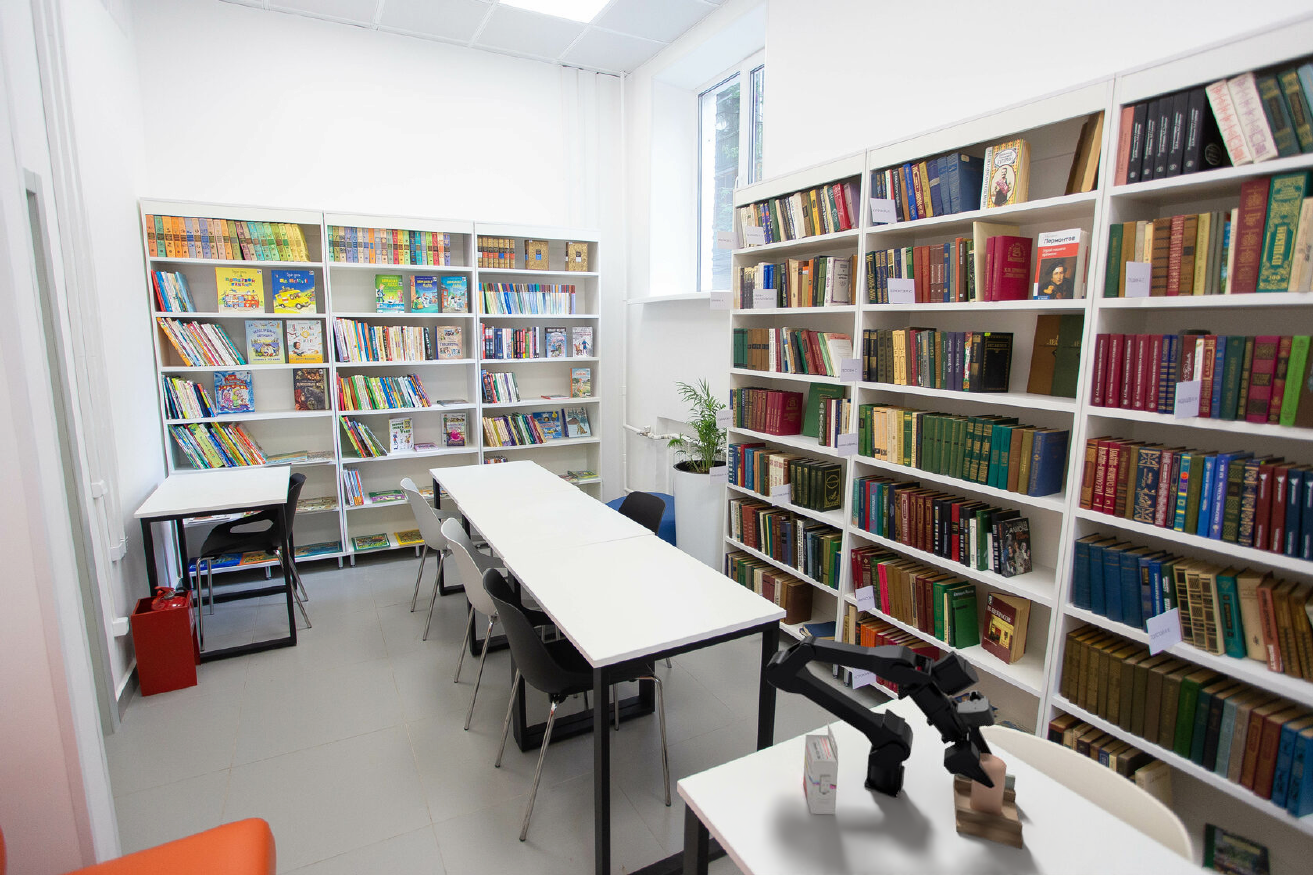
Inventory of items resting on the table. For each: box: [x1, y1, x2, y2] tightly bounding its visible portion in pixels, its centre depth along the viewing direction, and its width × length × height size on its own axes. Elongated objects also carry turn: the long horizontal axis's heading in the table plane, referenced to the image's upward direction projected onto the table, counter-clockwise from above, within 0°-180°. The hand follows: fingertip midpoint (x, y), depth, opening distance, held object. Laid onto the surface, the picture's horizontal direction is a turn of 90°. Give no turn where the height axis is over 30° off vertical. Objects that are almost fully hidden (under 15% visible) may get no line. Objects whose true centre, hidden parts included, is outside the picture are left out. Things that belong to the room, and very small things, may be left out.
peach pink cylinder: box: [970, 753, 1007, 816], centre depth 127 cm, size 6×6×10 cm
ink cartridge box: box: [802, 722, 839, 815], centre depth 130 cm, size 9×5×15 cm, turn 179°
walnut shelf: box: [952, 773, 1024, 850], centre depth 127 cm, size 11×14×5 cm
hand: (992, 772), depth 126 cm, fingers open, 9 cm apart
